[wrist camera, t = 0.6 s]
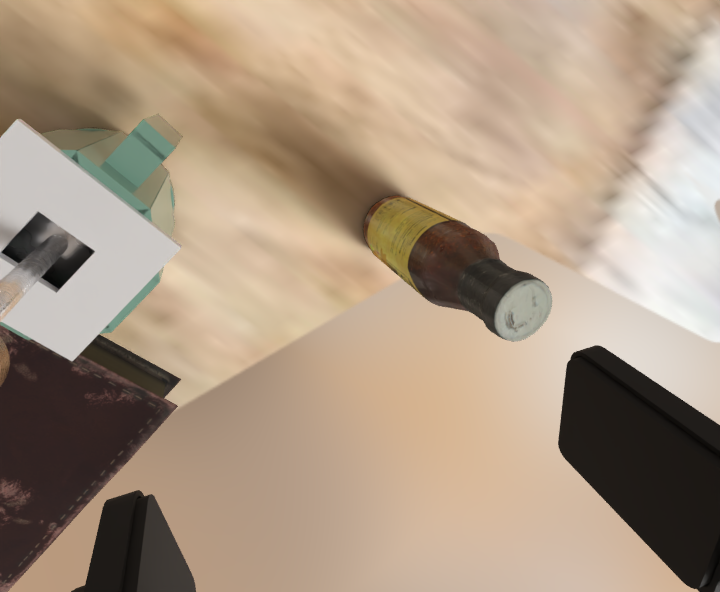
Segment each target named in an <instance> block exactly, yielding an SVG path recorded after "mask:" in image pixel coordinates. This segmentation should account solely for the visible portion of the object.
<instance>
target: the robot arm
mask: <svg viewBox="0 0 720 592" xmlns="http://www.w3.org/2000/svg"><path fill="white" fill-rule="evenodd" d="M558 445H559V449H560V451H561V453H562V455H563V457H564V458H565V459H566V460H567V461H568V462H569V463H570V464H571V465H572V466H573V468H574V469H575V470H576V471H577V472H578V473H579V474H580V475H581V476H582V477H583V478H584V479H585V480H586V481H587V482H588V483H589V484H590V485H591V486H592V487H593V488H594V489H595V490H596V492H597V493H598V494H599V495H600V496H601V497H602V498H603V499H604V500H605V501H606V502H607V503H608V504H609V505H610V506H611V507H612V508H613V509H614V510H615V511H616V513H618V515H619V516H620V517H621V518H622V519H623V520H624V521H625V522H626V523H627V524H628V525H629V526H630V527H631V528H632V529H633V530H634V531H635V532H636V533H637V534H638V535H639V536H640V538H641V539H642V540H643V541H644V542H645V543H646V544H647V545H648V546H649V547H650V548H651V549H652V550H653V551H654V552H655V553H656V554H657V555H658V556H659V557H660V559H662V561H663V562H664V563H665V564H666V565H667V566H668V567H669V568H670V569H671V570H672V571H673V572H674V573H675V574H676V575H677V576H678V577H679V578H680V579H681V580H682V581H683V582H684V583H685V584H686V585H687V586H689V587H691V588H694V589H698V591H699V592H720V425H719V424H717V423H716V422H714V421H712V420H711V419H710V418H708V417H706V416H705V415H704V414H702V413H701V412H699V411H698V410H696V409H695V408H693V407H692V406H690V405H689V404H687V403H685V402H684V401H683V400H681V399H680V398H678V397H677V396H675V395H674V394H672V393H671V392H669V391H668V390H666V389H665V388H663V387H662V386H660V385H659V384H657V383H656V382H654V381H652V380H651V379H650V378H648V377H647V376H645V375H644V374H642V373H641V372H639V371H638V370H636V369H635V368H633V367H632V366H630V365H629V364H627V363H626V362H625V361H623V360H621V359H620V358H619V357H617V356H616V355H614V354H613V353H611V352H609V351H608V350H606V349H605V348H603V347H601V346H593V347H590V348H586V349H583V350H580V351H577V352H574V353H573V354H572V356H571V360H570V361H569V362H568V363H567V369H566V378H565V387H564V396H563V405H562V414H561V423H560V432H559V441H558ZM71 592H196V588H195V582H194V578H193V576H192V574H191V571H190V570H189V567H188V565H187V563H186V561H185V559H184V557H183V555H182V553H181V551H180V549H179V547H178V545H177V543H176V541H175V538H174V536H173V535H172V532H171V530H170V528H169V526H168V524H167V522H166V520H165V518H164V516H163V514H162V511H161V509H160V507H159V505H158V503H157V501H156V499H155V497H154V496H153V495H152V494H151V495H148V496H144V495H143V493H142V492H141V491H139V490H138V491H134V492H131V493H128V494H125V495H122V496H118V497H116V498H112V499H109V500H107V501H106V502H105V504H104V507H103V510H102V514H101V519H100V523H99V528H98V532H97V536H96V541H95V545H94V549H93V554H92V558H91V563H90V567H89V572H88V576H87V580H86V584H85V586H82V587H79V588H76V589H75V590H73V591H71Z"/></svg>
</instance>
